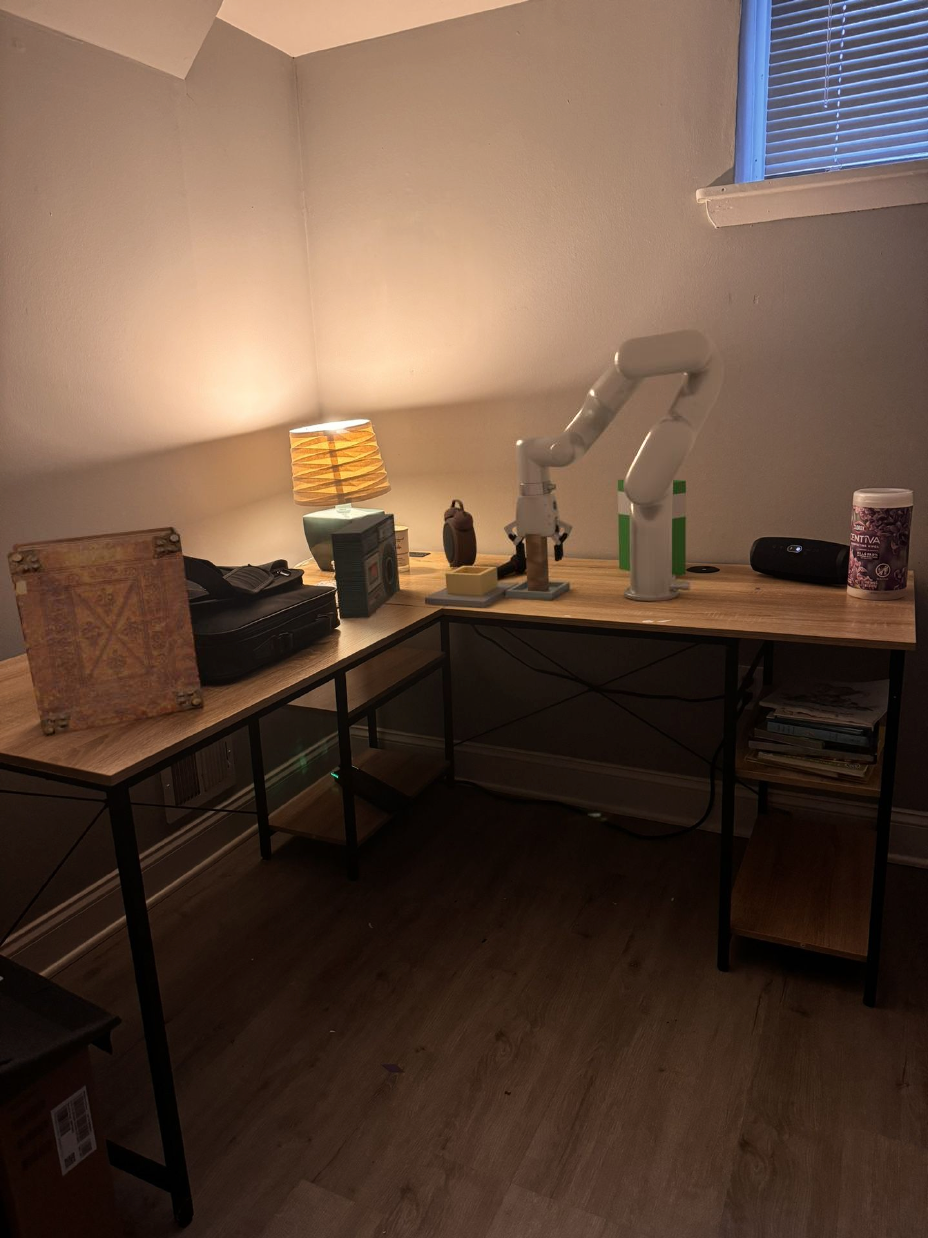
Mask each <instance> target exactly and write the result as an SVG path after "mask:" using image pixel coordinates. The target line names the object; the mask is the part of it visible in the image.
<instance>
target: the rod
mask: <svg viewBox="0 0 928 1238" xmlns="http://www.w3.org/2000/svg"><path fill="white" fill-rule="evenodd" d="M524 540H525V557H526V565H527V569H526V580H527V588H528V591H539V592H546V591H548V590H549V581H550V578H549V577H550V576H549V554H548V553H549V552H548V537H541V533H540V534H525V538H524Z"/></svg>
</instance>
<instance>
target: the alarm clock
mask: <svg viewBox="0 0 928 1238" xmlns="http://www.w3.org/2000/svg"><path fill="white" fill-rule="evenodd" d="M456 503H457V504H458V505H459V507H456ZM464 508H465V507H464V504H463V502H462V501H461V500H460V499H457V498H456V499H452V501H451V504H450V506H449V508H448V509H446V510H445V511H444V514H443V521H444V523H443V527H442V528H443V529H442V543H443V544H442V545H443V550H444V555H445V559H446V560H447V562H448V563H449V568H456V569H457V568H459V567H462V566H474V564H476V563H475V562H476V559H477V554H478V553H477V552H478V551H477V550H478V549H477V548H478V547H477V537H476V535H477V534H476V531H475V527H474V518H473V515H471V513H470V512H468V511H465V509H464Z"/></svg>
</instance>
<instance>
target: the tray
mask: <svg viewBox="0 0 928 1238" xmlns="http://www.w3.org/2000/svg"><path fill="white" fill-rule="evenodd" d="M570 583H571V582H569V581H553V580H549V590H548V591H546V592H539V591H528V588H527V579H525V580H522V581H521V582H518V584H517V585H515V586H513V587H511V588H510V589H508V590H506V596H505V598H506V599H517V600H518V599H521V600H533V601H535V600H539V601H551V602H552V601H554V600H556V599H557V598H559V597H560V596H562V595H563V594H564V593H566V592H567V591H570V589H571V584H570Z"/></svg>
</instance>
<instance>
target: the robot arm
mask: <svg viewBox="0 0 928 1238" xmlns="http://www.w3.org/2000/svg"><path fill="white" fill-rule="evenodd" d="M723 362H724V361H723V358H722V356H721V354H720V351H719V348H718V347H717V346H716V344H715V343H714V341H713V340H712V338H710V336H709V335H708V334H706V333H705V332H703V331H700V330H698V329H695V328H694V329H693V328H691V329H690V328H687V329H683V330H675V331H669V332H665V333H658V334H654V335H646V336H639V337H633V338H628V339H627V340H625V341H623V342H622V343H621V344H620V345H619V346H618V348H617V349H616V351H615V356H614V359H613V361H612V362H610V364H609V365H608V367H607V368H606V369H605V371H604V372H603V373H602V374H601V375H600V376H599V378H598V379H597V380H595V381H596V382H594V384H593V385H592V386H591V387H590V388H589V390H588V392H587V394H586V396H585V397H586V398H585V400H584V404H583V405H582V407H581V408H580V410H579V411H578V413H577V414H576V415H575V416H574V418H573V420H572V421H571V422H570V423H569V424H568V426H567V427H566V428H565V429H564V430H563V432H562V433H559V434H556V435H553V436H552V435H551V436H547V437H544V436H540V435H539V436H527V437H520V438H519V439H518V440H516V443H515V452H516V453H515V454H516V466H517V468H516V469H517V478H518V492H519V496H516V497H517V498H516V505H515V520H514V521H513V522H510V523H509V524H507V525H505V526H504V528H503V529H504V531H505V533H506V535H507V538H508V539H509V540H510V541H511V542H512V544H513V545H514V546H515V554H516V556H517V557H518V561H522V560H524V559H525V558H526V543H524V542H523V541H524V540H525V534H540V533H541V537H547V538H551V540H552V541H553V542H554V546H553V553H554V555H553V556H554V561H555V562H560V561H561V560H562V559H563V557H564V545H563V544H564V543H565V541H566V540H567V539H568V538H569V536H570V534H571V532H572V529H573V525H572V524H570V523H569V522H567V521H565V520H563V519H561V518H560V512H559V506H558V502H557V498H556V494H555V493H552V492H553V490H555V491H556V490H557V484H556V483H552V481H551V474H550V472H551V471H550V468H566V467H569V466H571V465H573V464H575V463H577V462H578V461H580V460H581V459H582V458H583V457H584V456H585V455H586V453H587V452H588V451H589V450H590V449H591V448H592V446H593V445H594V444H595V443H596V441H598V439H599V438H600V437H601V436H602V434H603V433H604V432H605V430H606V429H607V428H608V427H609V425H610V424H612V422H614V420H615V419H616V417H617V416H618V415H619V414H620V412H621V411H622V410H624V408H625V406H626V405H627V404H628V403H629V401H630V400H632V398H633V397H634V396H635V395H636V393H637V392H638V391H639V390H640V388H642V387H643V386H644V384H645V383H646V382H647V380H649V378H653V377H654V378H655V377H661V376H668V375H675V374H680V373H681V374H682V380H681V383H680V385H679V387H678V388H677V390H676V391H675V393H674V395H673V398H672V399H671V402H670V403H669V404H668V405H669V406H668V407H667V409H666V411H665V413H664V415H662V417H661V419H659V420H658V421H656V422H655V423H654V424H653V425H652V427H651V428H650V429H649V431H648V432H647V435H646V437H645V438H644V440H643V442H642V444H641V446H640V448H639V450H638V451H637V454H636V455H635V457H634V459H633V461H632V463H631V465H630V467H628V468H629V469H628V470H627V472H626V474H625V477H624V479H623V480H624V492H625V494H626V496H627V498H628V499H629V500H630V571H629V572H630V573H629V575H630V578H629V579H630V584H629V585H630V586H629V587H626V588H625V589H624V590H623V596H624V598H627V599H629V600H633V601H634V600H635V601H640V602H641V601H643V602H656V601H657V602H659V601H666V600H667V601H668V600H671V599H675V598H677V596H679V591H690V590H691V581H688V580H678V579H676V576H675V575H672V498H673V480H675V478H676V476H677V474H678V472H679V471H680V469H681V466H682V465H683V463H684V462H685V459H686V458H687V456H688V454H689V453H690V452H691V451H692V449H693V446H694V445H695V442H696V439H697V437H698V434H700V431H701V429H702V427H703V426H704V424H705V422H706V420H707V418H708V416H709V414H710V412H711V410H712V408H713V406H714V405H715V403H716V400H717V398H718V396H719V394H720V392H721V389H722V385H723V381H724V372H725V371H724V363H723ZM514 528H515V532H516V533H514V531H513V529H514ZM561 528H562V529H563V533H562V534H561Z"/></svg>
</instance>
